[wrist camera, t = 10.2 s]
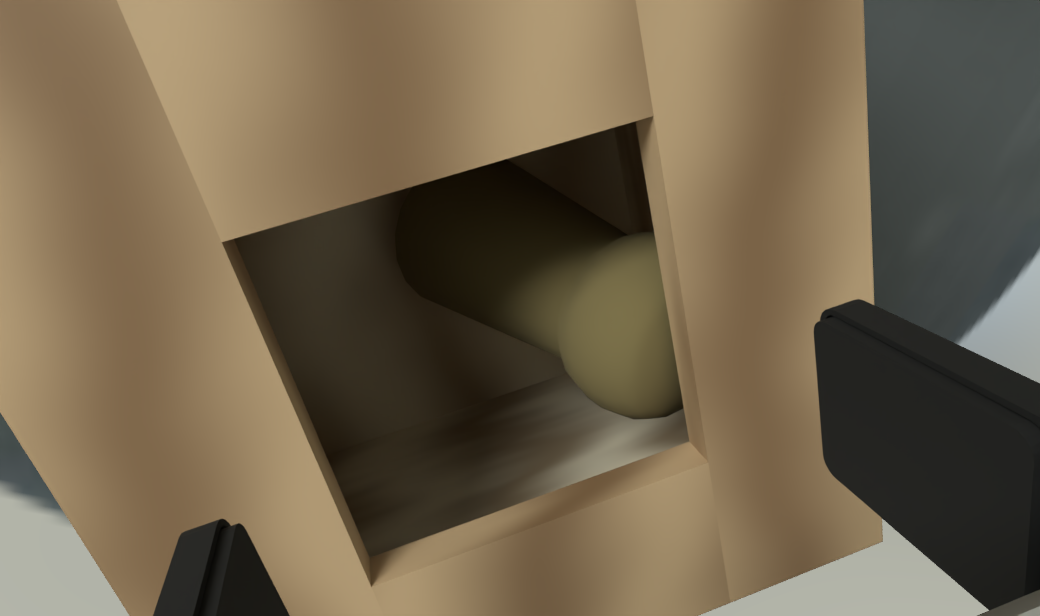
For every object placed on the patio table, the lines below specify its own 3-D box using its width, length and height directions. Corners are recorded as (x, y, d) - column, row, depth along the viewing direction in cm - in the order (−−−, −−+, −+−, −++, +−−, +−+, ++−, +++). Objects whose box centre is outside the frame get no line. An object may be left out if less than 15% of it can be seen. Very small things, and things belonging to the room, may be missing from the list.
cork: (497, 317, 28) (710, 458, 20) (370, 289, 24) (576, 451, 16) (553, 178, 27) (800, 269, 19) (432, 123, 23) (682, 210, 15)
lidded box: (593, -82, 25) (855, -221, 12) (667, 347, 32) (882, 541, 19) (86, 44, 23) (-242, 33, 10) (286, 478, 30) (245, 797, 17)
